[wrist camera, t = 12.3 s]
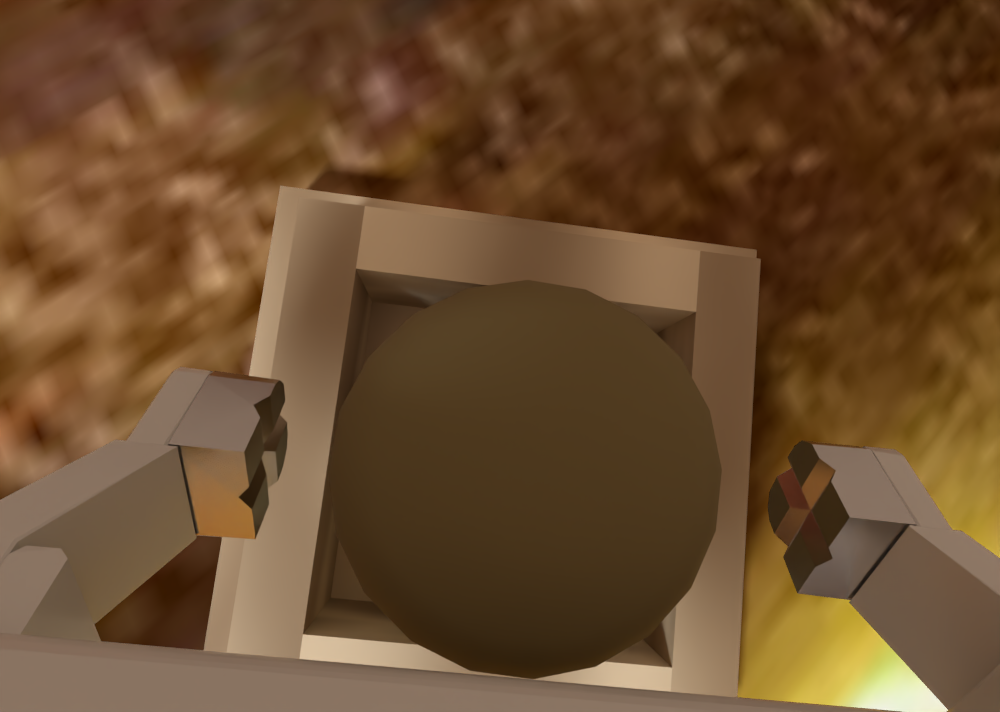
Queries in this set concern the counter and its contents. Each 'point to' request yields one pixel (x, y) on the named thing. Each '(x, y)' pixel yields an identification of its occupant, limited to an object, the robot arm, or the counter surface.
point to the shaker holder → (377, 315)
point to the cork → (525, 479)
